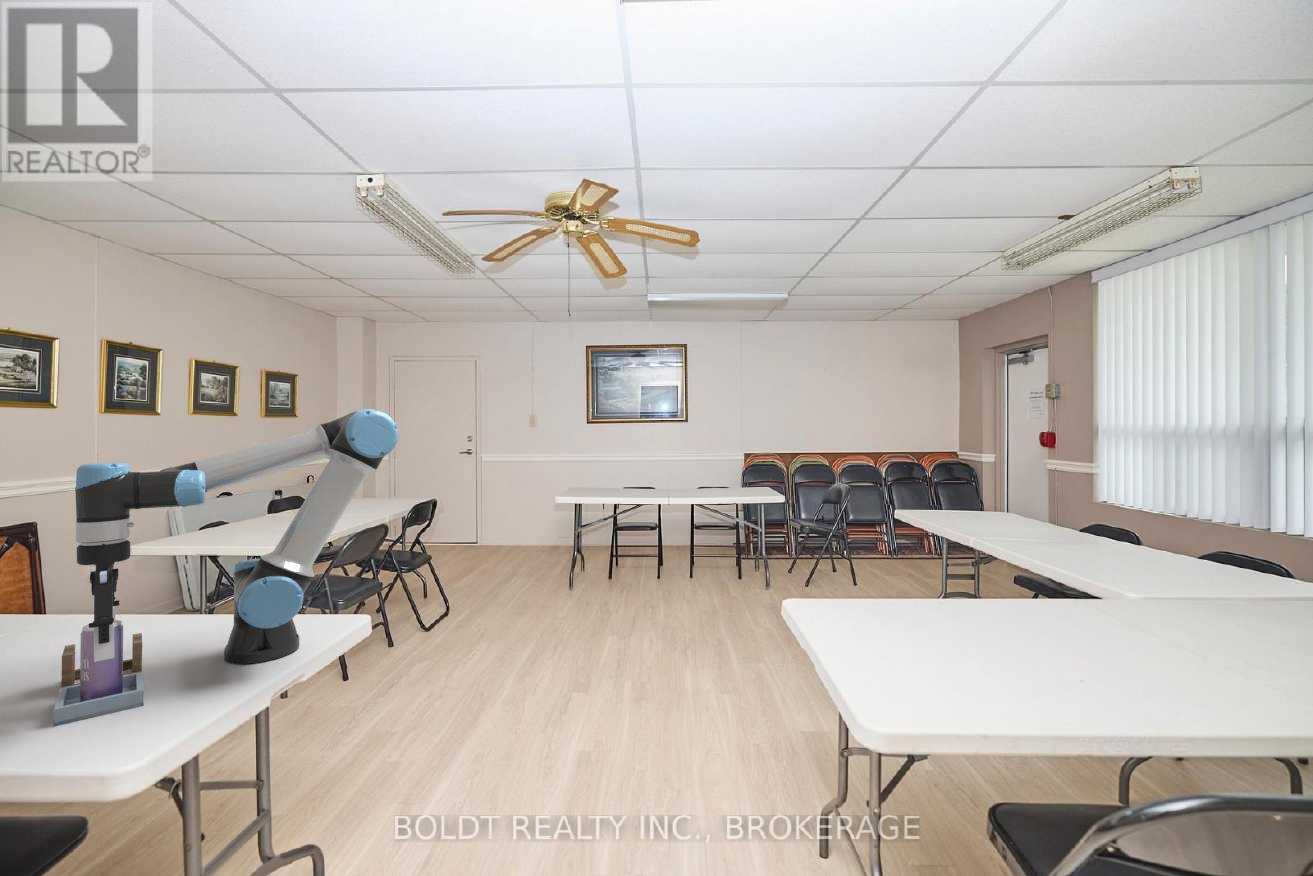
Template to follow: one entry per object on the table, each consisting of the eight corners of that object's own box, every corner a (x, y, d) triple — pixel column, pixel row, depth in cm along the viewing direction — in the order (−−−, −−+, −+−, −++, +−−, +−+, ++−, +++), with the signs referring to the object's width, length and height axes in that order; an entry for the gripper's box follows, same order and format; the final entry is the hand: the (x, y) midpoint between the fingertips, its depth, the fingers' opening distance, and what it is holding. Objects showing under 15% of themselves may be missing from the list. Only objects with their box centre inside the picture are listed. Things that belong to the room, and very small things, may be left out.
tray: (143, 705, 110) (143, 690, 110) (53, 726, 102) (53, 709, 102) (142, 685, 119) (142, 671, 119) (59, 703, 110) (59, 688, 110)
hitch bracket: (141, 681, 120) (142, 644, 121) (60, 699, 112) (61, 658, 112) (141, 666, 129) (141, 631, 129) (65, 681, 121) (65, 643, 121)
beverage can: (129, 697, 112) (130, 621, 112) (91, 710, 106) (92, 631, 106) (111, 692, 114) (111, 618, 114) (72, 705, 108) (73, 627, 108)
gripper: (130, 547, 104) (131, 662, 104) (130, 531, 122) (131, 629, 122) (71, 554, 99) (73, 674, 99) (80, 536, 117) (82, 637, 117)
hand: (105, 649), depth 110 cm, fingers open, 13 cm apart
